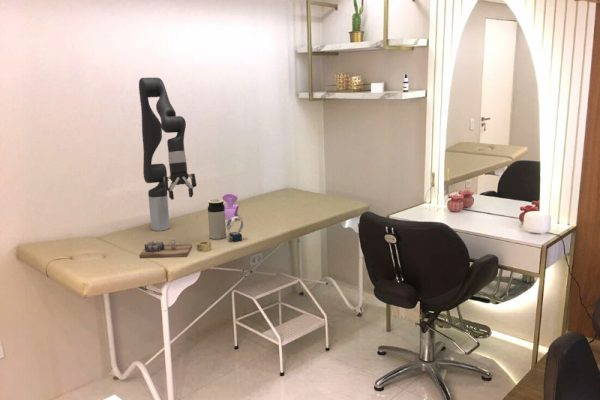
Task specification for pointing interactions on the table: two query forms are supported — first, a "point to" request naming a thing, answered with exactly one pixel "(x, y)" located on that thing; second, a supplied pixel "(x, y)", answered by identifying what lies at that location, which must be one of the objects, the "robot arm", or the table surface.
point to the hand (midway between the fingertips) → (181, 198)
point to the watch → (234, 235)
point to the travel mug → (216, 219)
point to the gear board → (165, 250)
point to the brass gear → (204, 246)
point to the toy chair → (230, 205)
